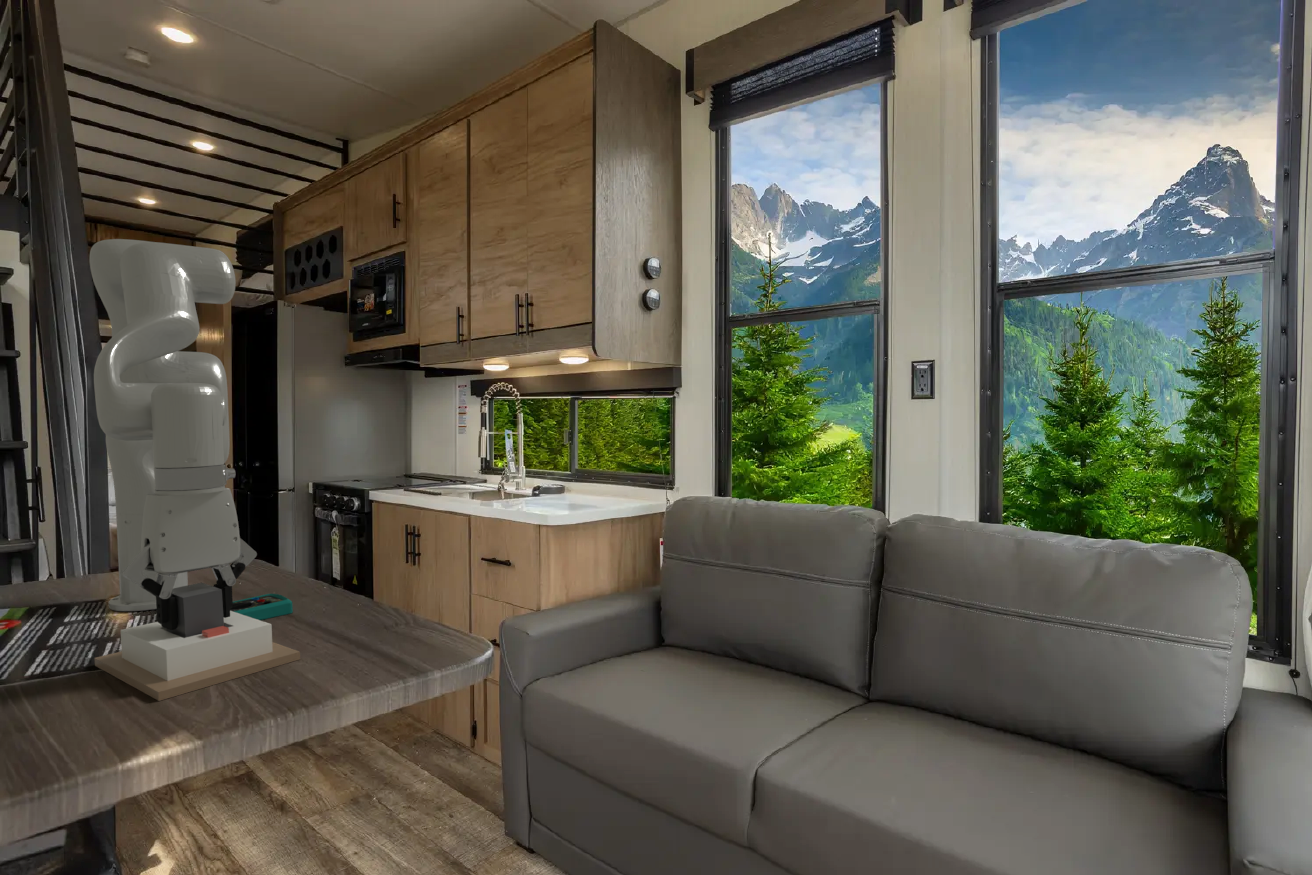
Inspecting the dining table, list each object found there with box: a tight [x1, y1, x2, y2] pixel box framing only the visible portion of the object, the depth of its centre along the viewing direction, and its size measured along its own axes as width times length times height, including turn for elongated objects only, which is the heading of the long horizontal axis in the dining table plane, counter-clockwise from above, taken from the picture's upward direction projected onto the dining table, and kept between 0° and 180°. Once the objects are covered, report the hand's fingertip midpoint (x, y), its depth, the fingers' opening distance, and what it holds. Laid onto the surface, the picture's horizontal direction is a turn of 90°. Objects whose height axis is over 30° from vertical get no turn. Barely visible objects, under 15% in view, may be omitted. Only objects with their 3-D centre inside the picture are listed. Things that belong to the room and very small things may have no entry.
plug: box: [166, 582, 224, 638], centre depth 93 cm, size 6×4×8 cm
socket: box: [94, 611, 301, 702], centre depth 93 cm, size 20×16×5 cm
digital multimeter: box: [230, 593, 294, 621], centre depth 112 cm, size 7×15×3 cm, turn 142°
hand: (196, 620), depth 93 cm, fingers open, 5 cm apart
